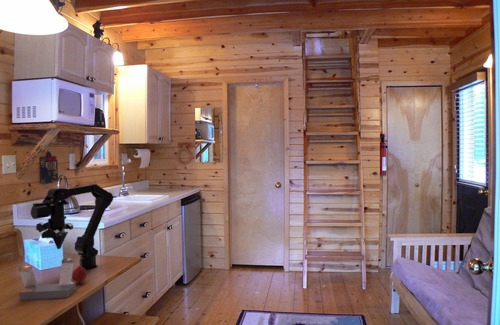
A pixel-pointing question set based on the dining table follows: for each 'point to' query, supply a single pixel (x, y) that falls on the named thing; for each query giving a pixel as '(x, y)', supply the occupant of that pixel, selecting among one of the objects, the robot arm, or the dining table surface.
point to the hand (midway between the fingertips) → (58, 248)
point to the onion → (79, 274)
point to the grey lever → (66, 271)
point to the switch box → (47, 291)
